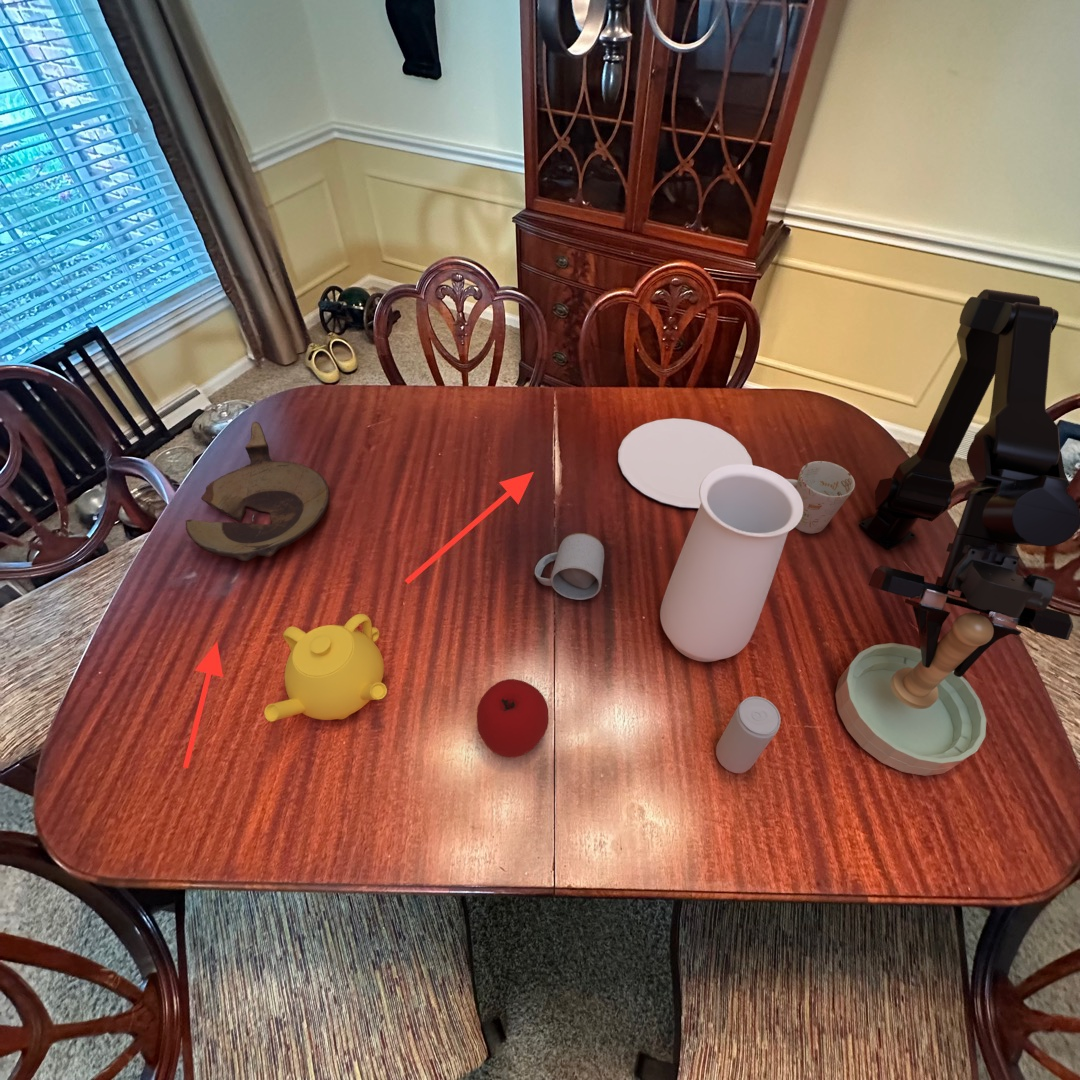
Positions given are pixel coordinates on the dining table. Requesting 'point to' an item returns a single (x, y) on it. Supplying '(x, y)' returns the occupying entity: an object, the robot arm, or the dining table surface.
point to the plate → (677, 458)
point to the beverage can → (747, 734)
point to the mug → (821, 493)
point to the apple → (512, 717)
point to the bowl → (908, 714)
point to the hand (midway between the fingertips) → (941, 671)
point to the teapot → (331, 671)
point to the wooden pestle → (941, 661)
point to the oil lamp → (261, 504)
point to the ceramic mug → (575, 567)
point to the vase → (728, 561)
